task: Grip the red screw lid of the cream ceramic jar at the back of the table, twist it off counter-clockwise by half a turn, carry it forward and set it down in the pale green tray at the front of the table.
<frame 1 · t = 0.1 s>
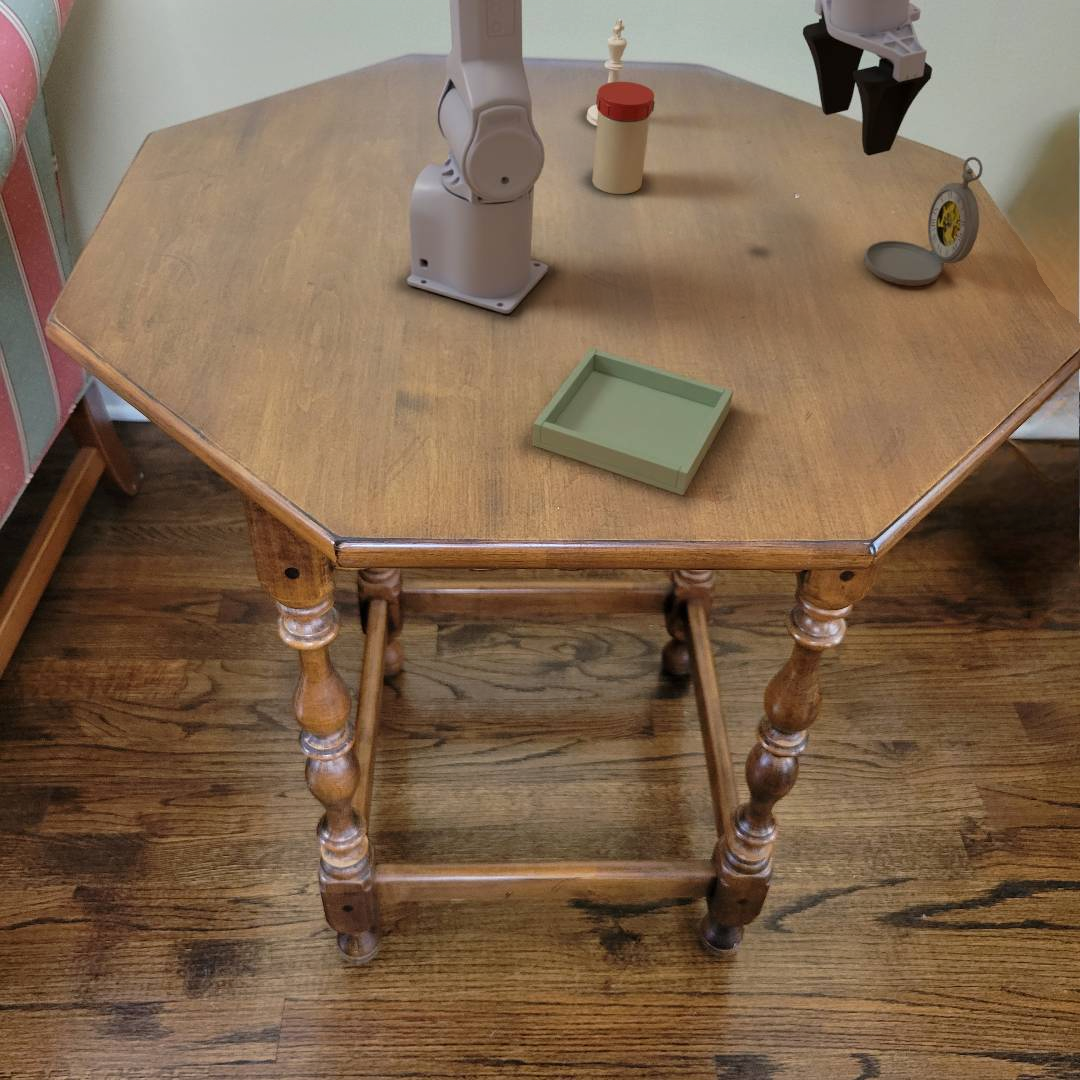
hand: (855, 130, 89), 11 cm above the table, tool pointing down, fingers open, 7 cm apart
chess piece: (609, 121, 113), on the table
tray: (632, 428, 76), on the table
lid: (625, 96, 97), point 8 cm above the table, screwed on, not yet turned
jar: (616, 182, 103), on the table
pocket watch: (912, 271, 94), on the table
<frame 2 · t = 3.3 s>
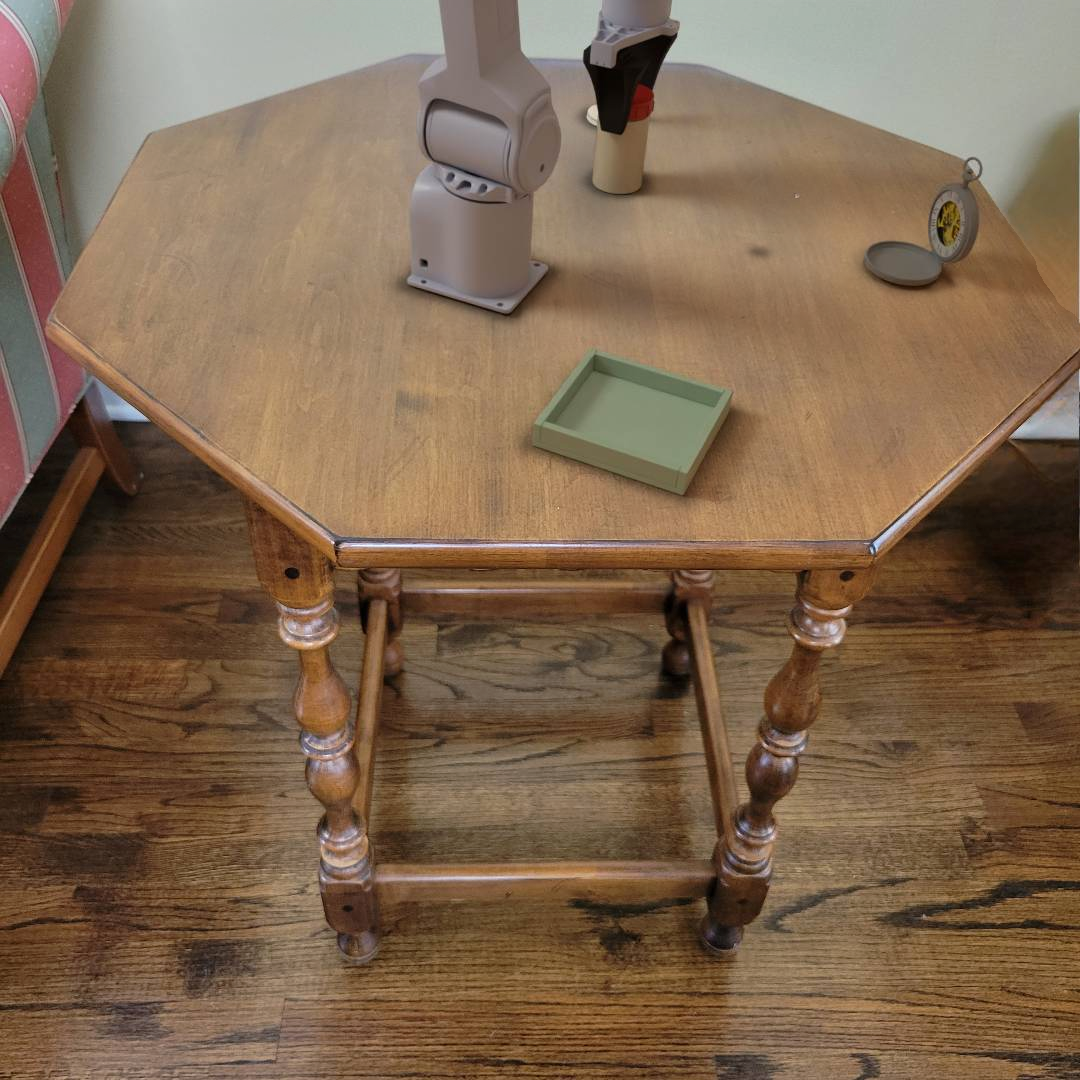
hand: (623, 120, 99), 6 cm above the table, tool pointing down, fingers closed on lid, 5 cm apart
lid: (625, 96, 97), point 8 cm above the table, screwed on, not yet turned, touching gripper
everything else where it was.
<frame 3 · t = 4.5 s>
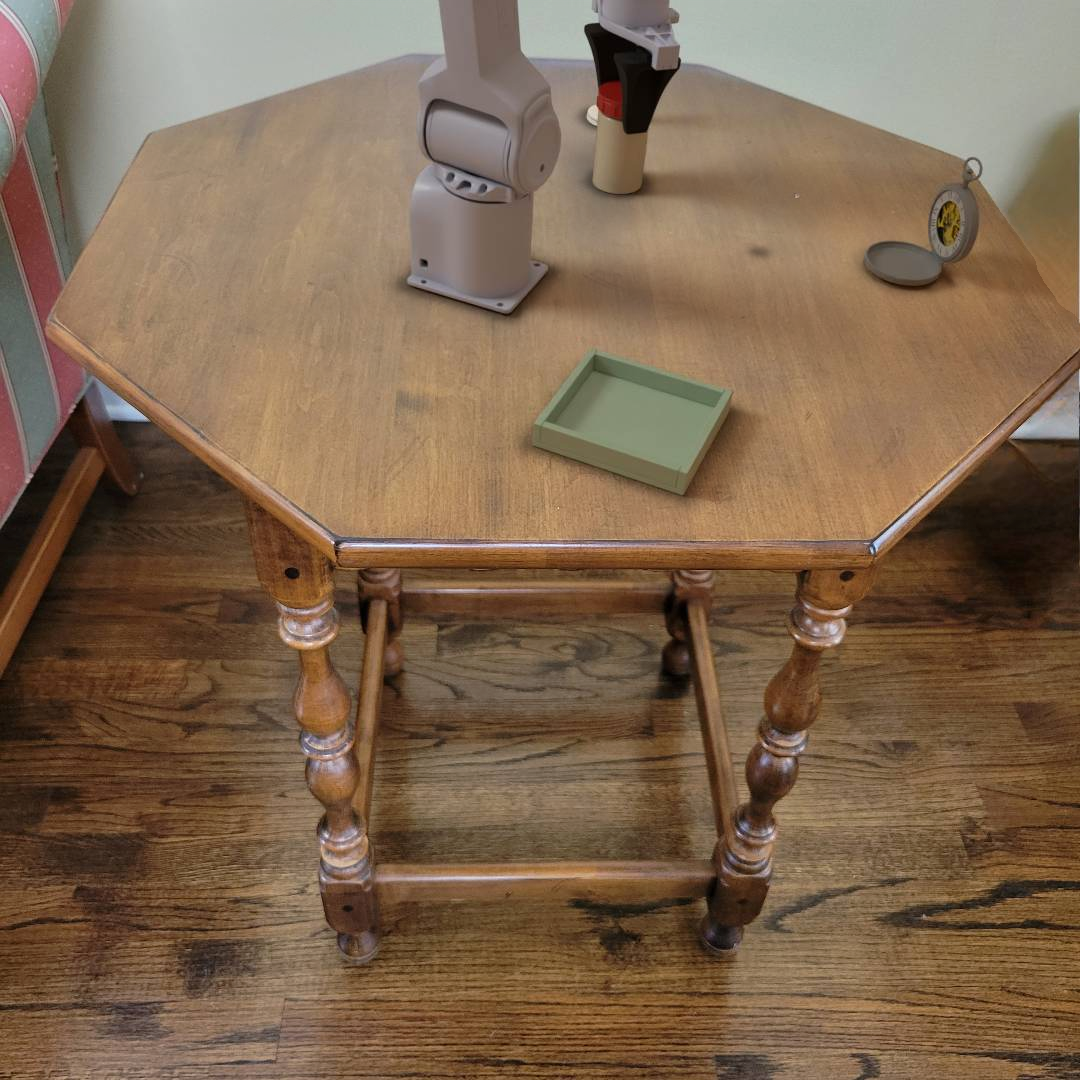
hand: (623, 119, 99), 6 cm above the table, tool pointing down, fingers closed on lid, 5 cm apart
lid: (626, 95, 97), point 8 cm above the table, turned 44° so far, risen 0.1 cm, still on its thread, touching gripper
everything else where it was.
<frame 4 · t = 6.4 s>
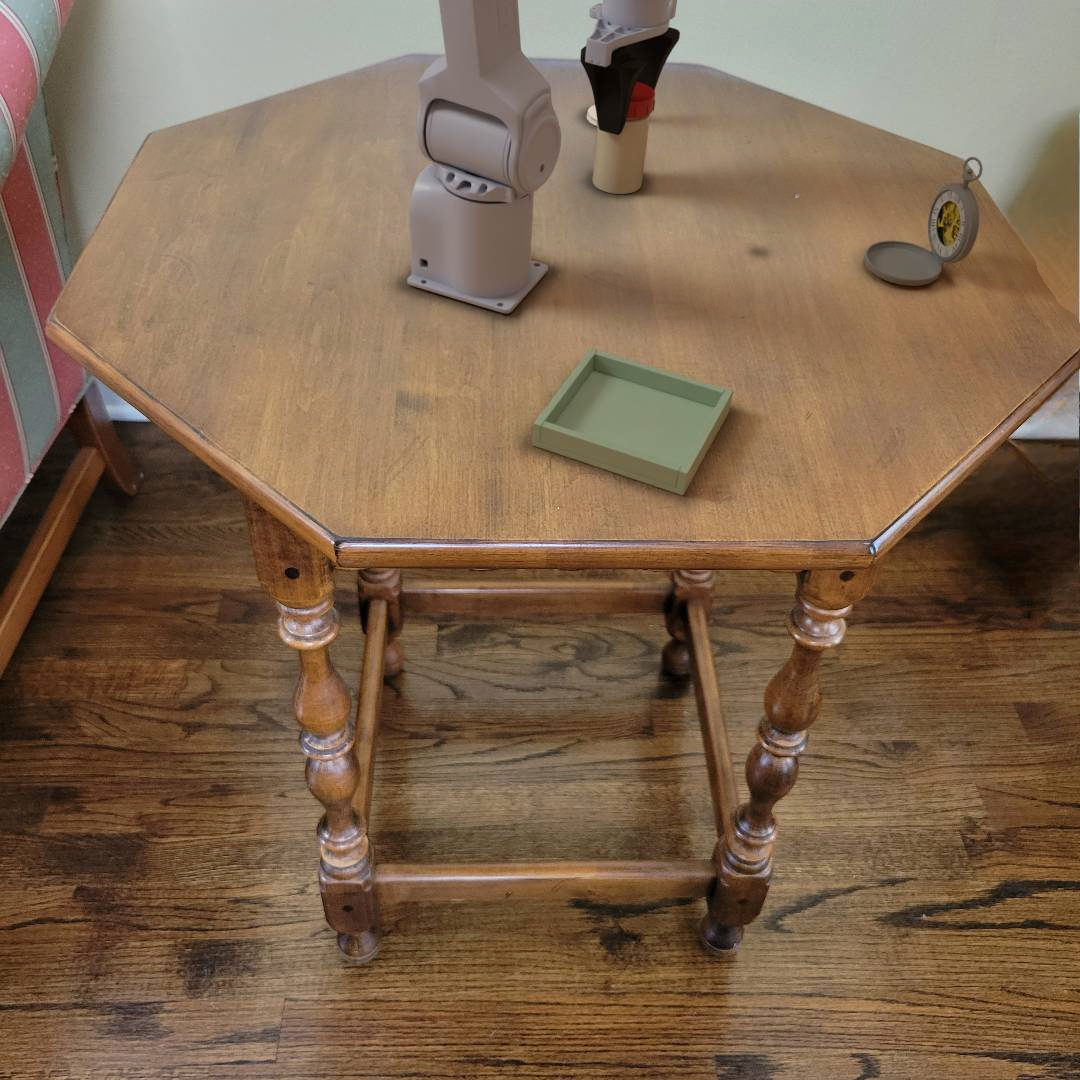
hand: (623, 120, 99), 6 cm above the table, tool pointing down, fingers closed on lid, 5 cm apart
lid: (626, 94, 97), point 8 cm above the table, off its thread, touching gripper
jar: (616, 182, 103), on the table, touching gripper
everything else where it was.
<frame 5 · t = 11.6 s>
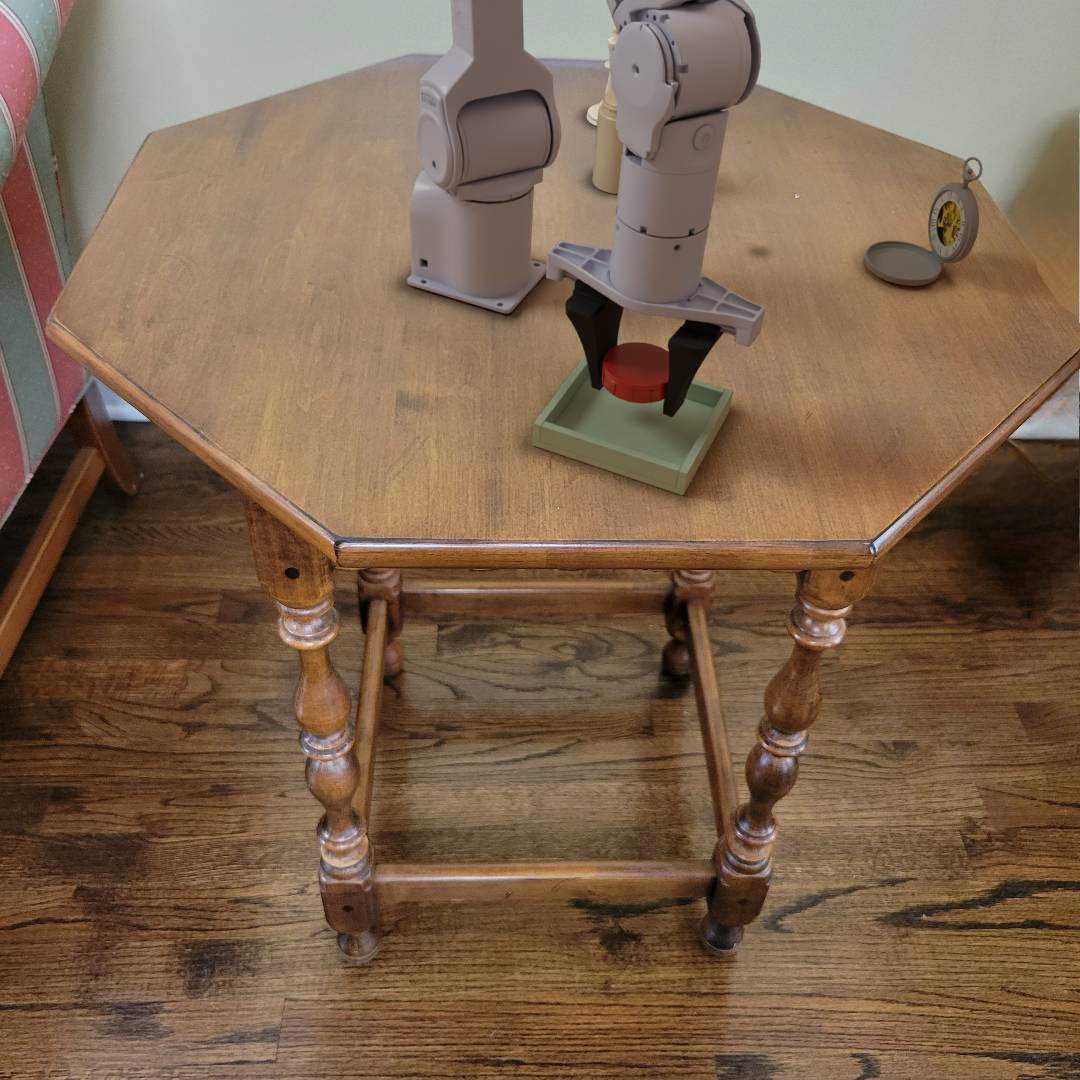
hand: (637, 395, 74), 3 cm above the table, tool pointing down, fingers closed on lid, 5 cm apart
lid: (640, 367, 73), point 5 cm above the table, off its thread, touching gripper
jar: (616, 182, 103), on the table
everything else where it was.
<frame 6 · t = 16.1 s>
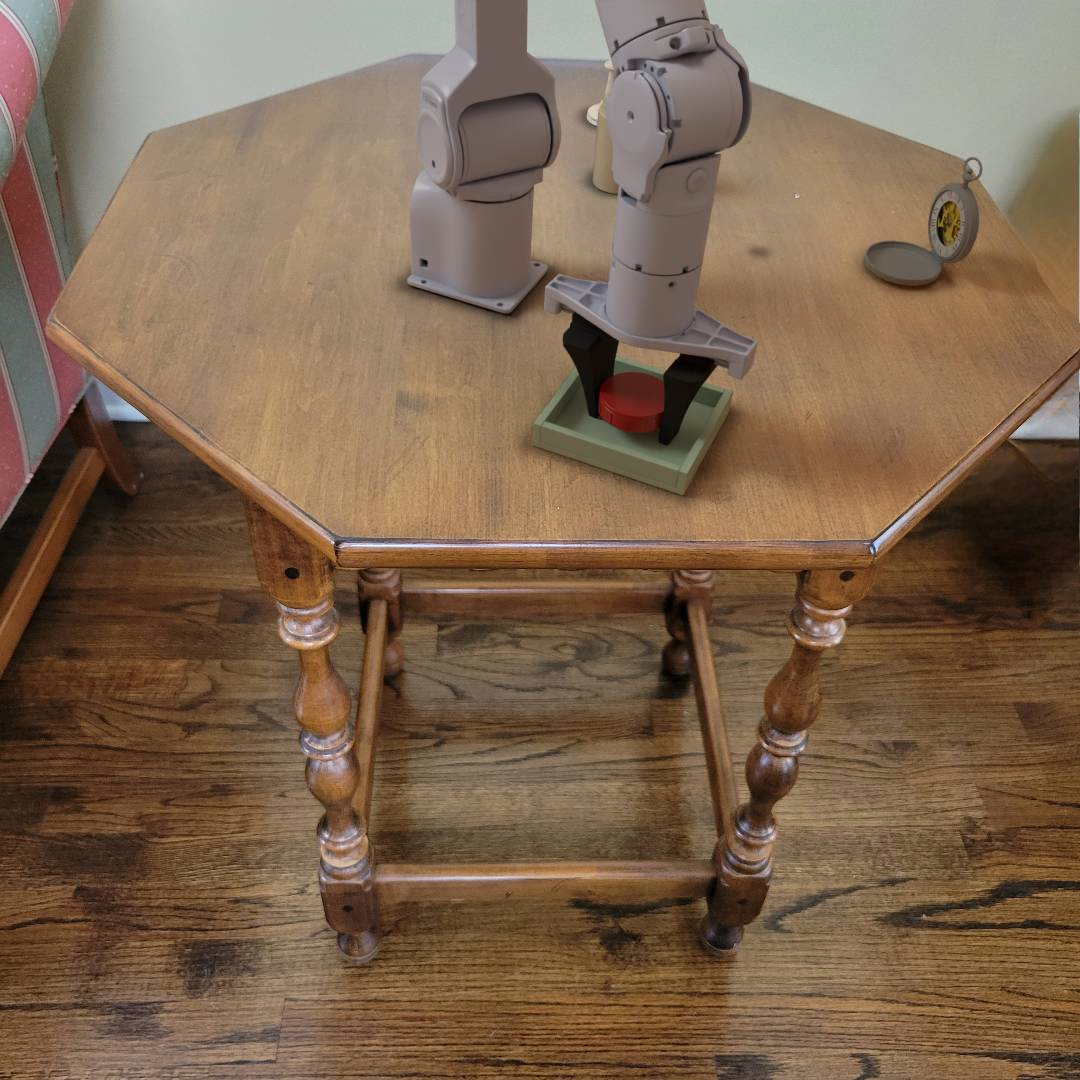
hand: (633, 423, 76), 0 cm above the table, tool pointing down, fingers closed on lid, 5 cm apart
lid: (636, 397, 74), point 3 cm above the table, off its thread, touching gripper
everything else where it was.
when the fingers open (2 cm above the table, at t = 20.3 s): lid drops 2 cm, resting on tray.
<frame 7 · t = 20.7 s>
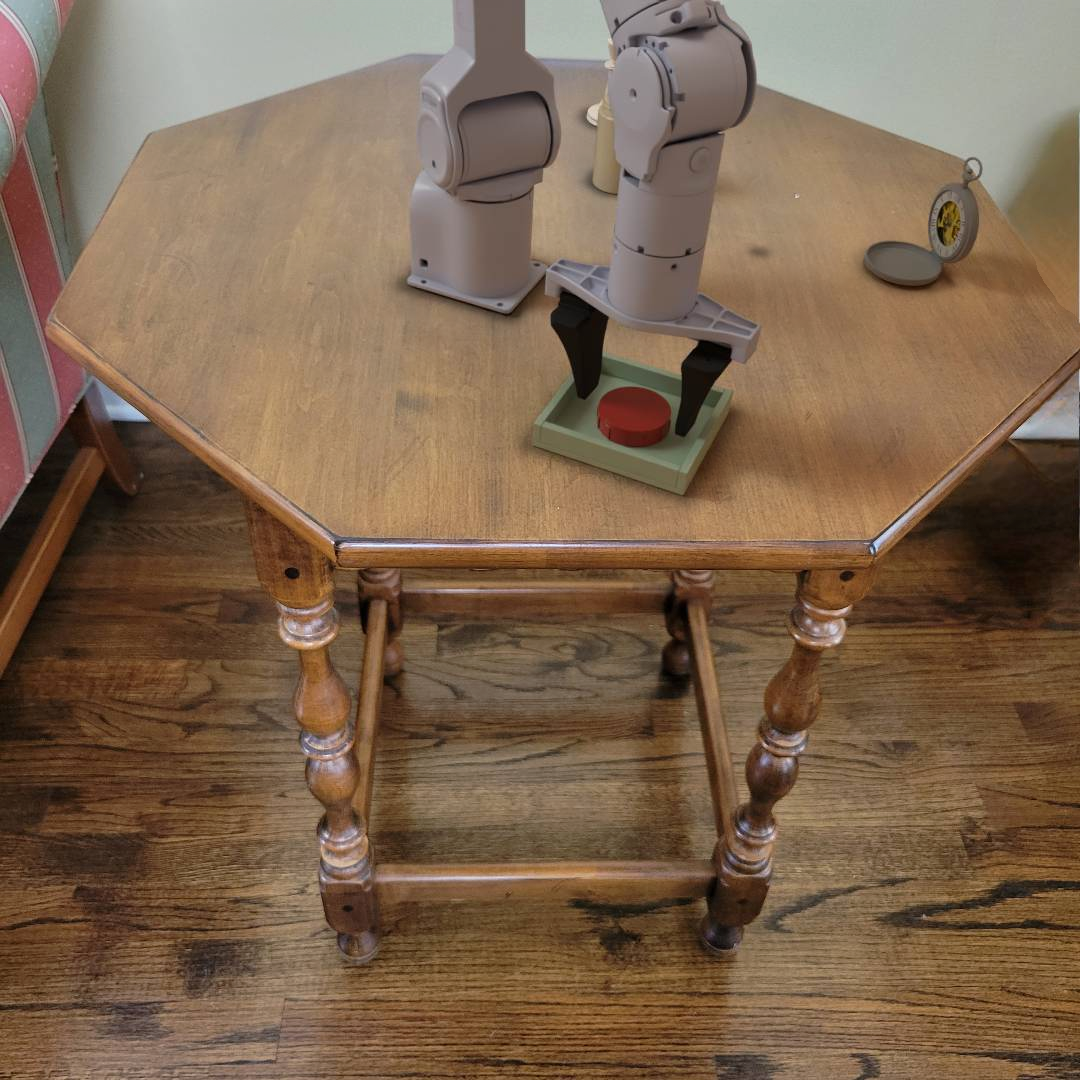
hand: (635, 409, 75), 2 cm above the table, tool pointing down, fingers open, 7 cm apart
lid: (634, 412, 75), point 2 cm above the table, off its thread, touching tray
everything else where it was.
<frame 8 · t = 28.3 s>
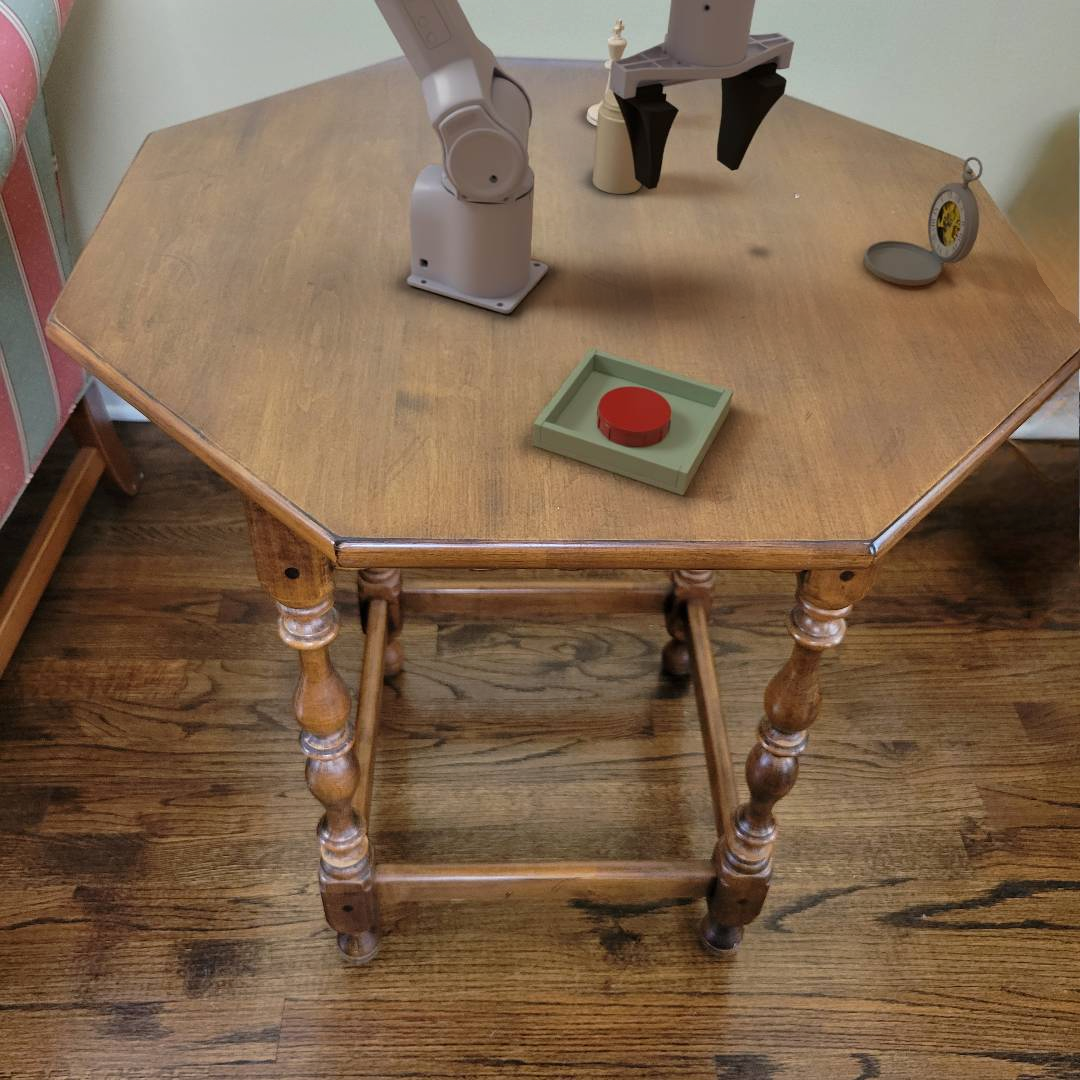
hand: (687, 173, 82), 10 cm above the table, tool pointing down, fingers open, 7 cm apart
nothing on the table moved.
at the end: lid inside the target area in the tray (0.2 cm from its centre), point 1.6 cm above the tray's base; lid point 1.6 cm above the table; the gripper is holding nothing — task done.
